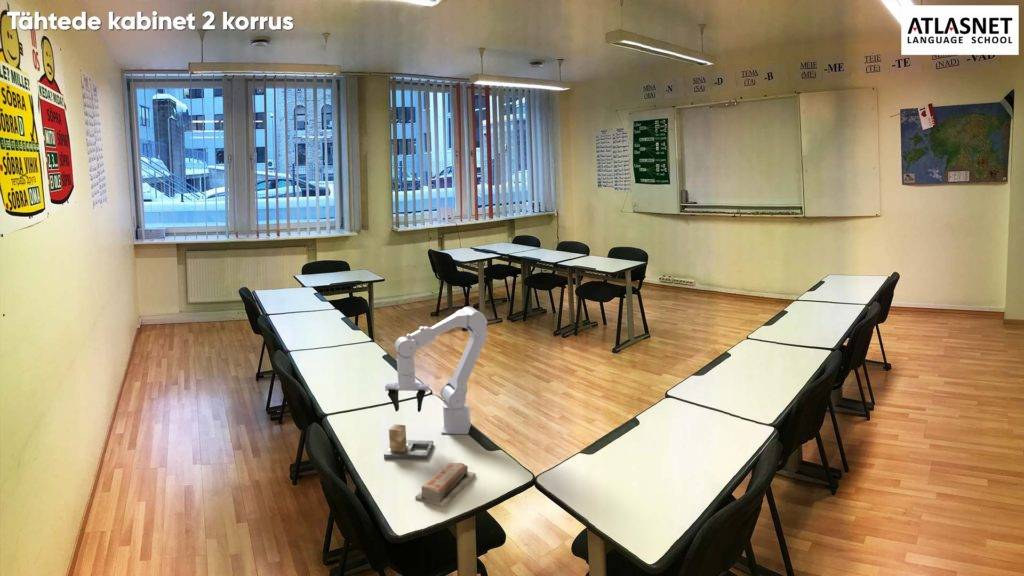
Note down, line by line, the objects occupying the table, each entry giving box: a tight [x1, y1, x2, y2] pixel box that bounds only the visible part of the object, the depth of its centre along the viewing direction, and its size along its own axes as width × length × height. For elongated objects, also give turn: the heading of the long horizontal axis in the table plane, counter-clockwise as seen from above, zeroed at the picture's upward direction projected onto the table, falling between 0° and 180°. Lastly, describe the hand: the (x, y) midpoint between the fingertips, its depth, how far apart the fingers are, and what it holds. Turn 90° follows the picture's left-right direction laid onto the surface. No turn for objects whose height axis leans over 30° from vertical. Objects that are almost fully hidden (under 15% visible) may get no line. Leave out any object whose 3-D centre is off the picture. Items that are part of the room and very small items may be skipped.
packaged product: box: [414, 462, 476, 508], centre depth 173 cm, size 18×5×10 cm
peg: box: [388, 423, 407, 451], centre depth 194 cm, size 4×4×7 cm
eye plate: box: [383, 439, 434, 461], centre depth 195 cm, size 14×10×2 cm
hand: (408, 410), depth 202 cm, fingers open, 7 cm apart
